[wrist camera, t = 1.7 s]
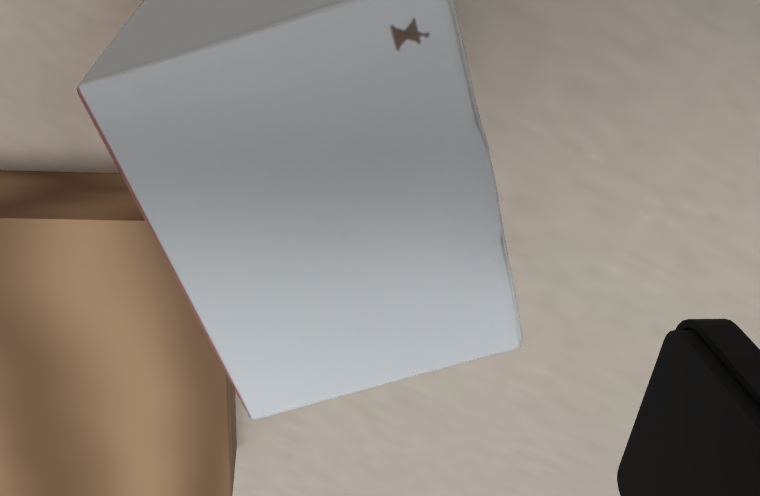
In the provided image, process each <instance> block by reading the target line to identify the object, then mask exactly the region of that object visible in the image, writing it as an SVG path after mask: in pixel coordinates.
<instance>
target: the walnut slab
mask: <svg viewBox="0 0 760 496" xmlns="http://www.w3.org/2000/svg"><path fill="white" fill-rule="evenodd" d="M236 447H237V442H236V410H235V389H234V387H233V385H232V383H231V381H230V379H229V377H228V376H227V374H226V372H225V370H224V368H223V366H222V364H221V362H220V360H219V359H218V357H217V355H216V353H215V351H214V349H213V348H212V346H211V344H210V342H209V340H208V338H207V336H206V334H205V332H204V331H203V329H202V327H201V325H200V323H199V321H198V320H197V318H196V316H195V314H194V312H193V310H192V308H191V306H190V304H189V302H188V300H187V298H186V296H185V294H184V292H183V291H182V289H181V287H180V285H179V283H178V282H177V280H176V278H175V276H174V274H173V272H172V270H171V268H170V266H169V264H168V262H167V260H166V258H165V256H164V254H163V253H162V251H161V249H160V247H159V245H158V244H157V242H156V240H155V238H154V236H153V234H152V232H151V230H150V229H149V227H148V225H147V223H146V221H145V219H144V217H143V215H142V213H141V211H140V209H139V208H138V206H137V204H136V202H135V200H134V198H133V196H132V194H131V193H130V191H129V189H128V187H127V185H126V183H125V181H124V179H123V177H122V175H121V174H116V173H79V172H43V171H6V170H0V496H232V493H233V481H234V470H235V459H236Z"/></svg>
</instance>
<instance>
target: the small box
mask: <svg viewBox="0 0 760 496" xmlns="http://www.w3.org/2000/svg"><path fill="white" fill-rule="evenodd" d="M77 91H78V94H79V96H80V98H81V100H82V102H83V104H84V106H85V108H86V110H87V111H88V113H89V115H90V117H91V119H92V121H93V123H94V125H95V127H96V129H97V130H98V132H99V134H100V136H101V138H102V140H103V142H104V144H105V145H106V147H107V149H108V151H109V153H110V155H111V157H112V158H113V160H114V162H115V164H116V166H117V168H118V170H119V171H120V173H121V175H122V177H123V179H124V181H125V183H126V185H127V187H128V189H129V191H130V193H131V194H132V196H133V198H134V200H135V202H136V204H137V206H138V208H139V209H140V211H141V213H142V215H143V217H144V219H145V221H146V223H147V225H148V227H149V229H150V230H151V232H152V234H153V236H154V238H155V240H156V242H157V244H158V245H159V247H160V249H161V251H162V253H163V254H164V256H165V258H166V260H167V262H168V264H169V266H170V268H171V270H172V272H173V274H174V276H175V278H176V280H177V282H178V283H179V285H180V287H181V289H182V291H183V292H184V294H185V296H186V298H187V300H188V302H189V304H190V306H191V308H192V310H193V312H194V314H195V316H196V318H197V320H198V321H199V323H200V325H201V327H202V329H203V331H204V332H205V334H206V336H207V338H208V340H209V342H210V344H211V346H212V348H213V349H214V351H215V353H216V355H217V357H218V359H219V360H220V362H221V364H222V366H223V368H224V370H225V372H226V374H227V376H228V377H229V379H230V381H231V383H232V385H233V387H234V389H235V391H236V392H237V394H238V396H239V398H240V400H241V402H242V404H243V405H244V407H245V409H246V411H247V413H248V415H249V418H251V419H260V418H264V417H268V416H271V415H275V414H278V413H282V412H286V411H289V410H293V409H297V408H300V407H304V406H307V405H311V404H314V403H318V402H321V401H325V400H329V399H332V398H336V397H340V396H343V395H347V394H350V393H354V392H358V391H361V390H365V389H369V388H373V387H376V386H380V385H383V384H387V383H391V382H394V381H398V380H401V379H405V378H408V377H412V376H416V375H419V374H423V373H426V372H430V371H434V370H438V369H441V368H445V367H449V366H452V365H456V364H460V363H463V362H467V361H471V360H475V359H478V358H482V357H486V356H489V355H493V354H497V353H501V352H506V351H510V350H514V349H517V348H519V347H520V346H521V343H522V341H523V335H522V329H521V323H520V317H519V312H518V306H517V300H516V295H515V289H514V284H513V279H512V274H511V269H510V264H509V258H508V252H507V247H506V241H505V236H504V231H503V225H502V220H501V215H500V208H499V200H498V193H497V187H496V182H495V177H494V173H493V169H492V164H491V160H490V155H489V148H488V143H487V140H486V136H485V133H484V130H483V127H482V124H481V120H480V116H479V113H478V109H477V105H476V101H475V97H474V92H473V87H472V82H471V78H470V74H469V69H468V65H467V60H466V55H465V51H464V46H463V41H462V37H461V32H460V27H459V23H458V19H457V15H456V10H455V6H454V2H453V0H144V1H143V3H142V4H141V6H140V7H139V8H138V9H137V10H136V11H135V13H134V14H133V15H132V17H131V18H130V19H129V20H128V22H127V23H126V24H125V25H124V27H123V28H122V29H121V31H120V32H119V33H118V35H117V36H116V37H115V38H114V40H113V41H112V42H111V44H110V45H109V46H108V47H107V49H106V50H105V51H104V53H103V54H102V55H101V56H100V58H99V59H98V60H97V62H96V63H95V64H94V66H93V67H92V68H91V69H90V71H89V72H88V73H87V75H86V76H85V78H84V79H83V80H82V82H81V83H80V84H79V85H78V88H77Z"/></svg>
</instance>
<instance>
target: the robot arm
mask: <svg viewBox="0 0 760 496" xmlns="http://www.w3.org/2000/svg"><path fill="white" fill-rule="evenodd" d="M617 482H618V488H619V492H620V495H621V496H760V349H759V348H758V347H757V346H756V345H755V344H754V343H753V342H752V341H751V340H750V339H749V338H748V337H747V336H746V334H745V333H744V332H743V331H742V330H741V329H740V328H739V327H738V326H737V325H736V324H735V323H733V322H732V321H731V320H727V319H688V320H684V321H682V322H681V323H680V324H679V325H678V326H677V328H676V330H674V331H670V332H669V333H668V334H667V335H666V337H665V339H664V342H663V344H662V347H661V350H660V353H659V356H658V359H657V361H656V364H655V367H654V370H653V373H652V375H651V378H650V381H649V384H648V387H647V390H646V392H645V395H644V398H643V401H642V404H641V406H640V409H639V412H638V415H637V418H636V420H635V423H634V426H633V429H632V432H631V435H630V437H629V440H628V443H627V446H626V449H625V451H624V454H623V457H622V460H621V463H620V466H619V469H618V473H617Z"/></svg>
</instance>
